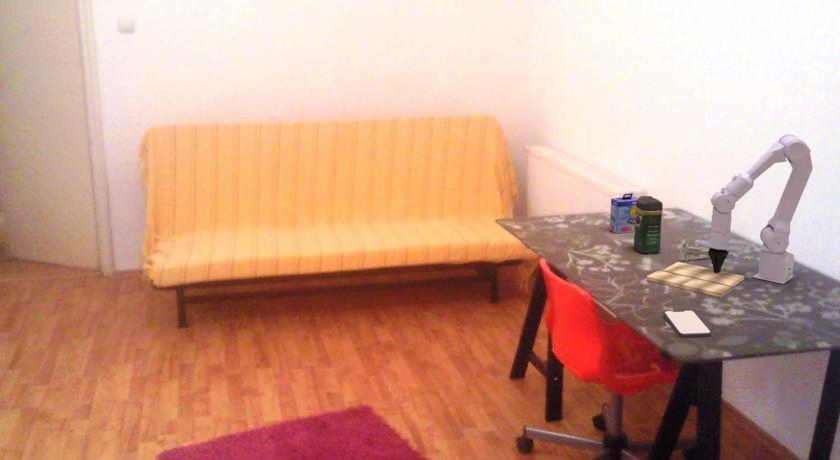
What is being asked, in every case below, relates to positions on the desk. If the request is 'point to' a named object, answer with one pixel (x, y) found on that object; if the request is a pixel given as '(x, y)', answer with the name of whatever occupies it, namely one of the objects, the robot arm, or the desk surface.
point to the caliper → (694, 252)
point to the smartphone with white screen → (687, 323)
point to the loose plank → (705, 273)
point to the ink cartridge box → (623, 214)
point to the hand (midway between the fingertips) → (717, 272)
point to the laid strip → (690, 283)
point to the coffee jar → (648, 224)
